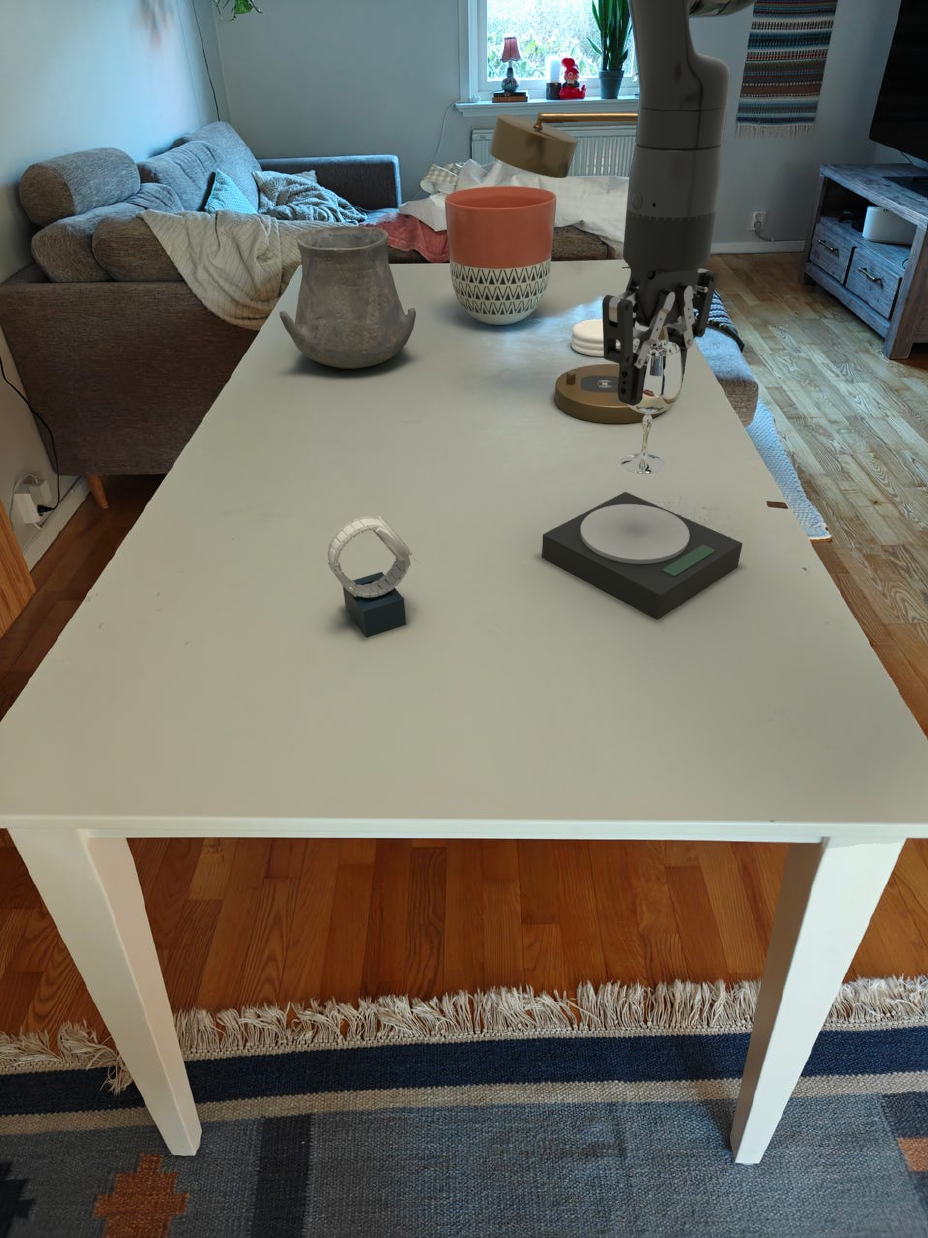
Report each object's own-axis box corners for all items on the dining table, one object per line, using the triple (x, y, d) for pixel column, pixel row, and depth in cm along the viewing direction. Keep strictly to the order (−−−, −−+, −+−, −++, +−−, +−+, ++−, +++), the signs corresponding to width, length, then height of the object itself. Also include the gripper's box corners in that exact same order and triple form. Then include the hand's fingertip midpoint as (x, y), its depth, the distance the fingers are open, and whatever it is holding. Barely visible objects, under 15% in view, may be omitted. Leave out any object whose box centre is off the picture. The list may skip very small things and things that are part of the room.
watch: (423, 618, 86) (417, 523, 79) (349, 642, 83) (336, 546, 76) (400, 590, 90) (393, 498, 83) (329, 612, 87) (315, 519, 80)
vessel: (412, 332, 157) (405, 214, 145) (421, 376, 139) (414, 246, 127) (293, 339, 155) (276, 221, 143) (287, 385, 137) (267, 254, 125)
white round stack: (614, 361, 143) (616, 340, 140) (561, 351, 147) (562, 331, 145) (637, 343, 149) (639, 322, 147) (586, 334, 154) (587, 314, 152)
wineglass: (609, 473, 85) (619, 355, 78) (618, 449, 90) (628, 335, 83) (668, 479, 84) (683, 360, 77) (674, 454, 88) (689, 339, 81)
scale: (738, 566, 92) (743, 538, 90) (657, 619, 85) (661, 590, 83) (623, 513, 102) (625, 486, 100) (541, 557, 95) (542, 529, 92)
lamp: (495, 377, 138) (494, 105, 115) (664, 380, 135) (698, 102, 112) (484, 420, 124) (481, 121, 102) (672, 425, 121) (712, 119, 99)
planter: (428, 319, 163) (422, 196, 150) (506, 299, 172) (507, 181, 159) (492, 345, 150) (492, 213, 137) (573, 322, 159) (579, 196, 147)
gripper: (653, 224, 66) (633, 426, 76) (757, 196, 74) (726, 384, 84) (581, 211, 71) (571, 403, 81) (686, 186, 78) (665, 365, 89)
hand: (650, 392), depth 82 cm, fingers closed on wineglass, 5 cm apart
